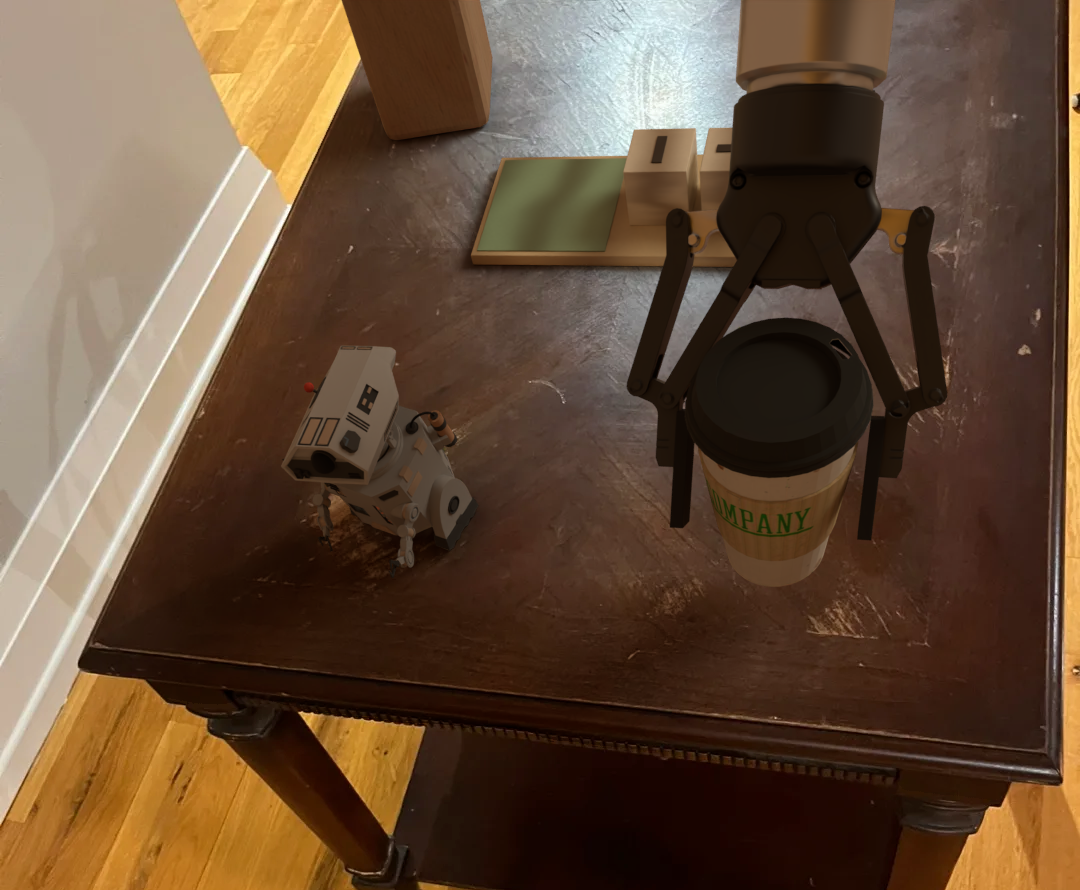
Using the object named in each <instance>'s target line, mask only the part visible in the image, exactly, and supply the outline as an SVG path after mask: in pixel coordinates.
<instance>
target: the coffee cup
mask: <svg viewBox="0 0 1080 890" xmlns="http://www.w3.org/2000/svg"><path fill="white" fill-rule="evenodd" d="M840 351H841V352H840ZM843 353H844V354H843ZM845 354H846V355H847V356H848V357H847V356H846V355H845ZM684 409H685V419H686V424H687V428H688V431H689V433H690V435H691V437H692V439H693V441H694V443H695V444H694V445H696V447H697V453H698V456H699V460H700V464H701V468H702V472H703V476H704V480H705V483H706V488H707V491H708V494H709V495H708V496H709V498H710V499H709V500H710V503H711V508H712V510H713V514H714V519H715V522H716V525H717V529H718V531H719V533H720V535H721V537H722V540H723V544H724V549H725V552H726V556H727V559H728V561H729V564H730V566H731V567H732V569H733V570H734V571H735V572H736V573H737V574H738V575H739V576H740V577H741V578H743V579H744V580H746V581H748V582H750V583H752V584H754V585H758V586H760V587H761V586H762V587H769V588H776V587H780V588H781V587H786V586H791V585H794V584H796V583H799V582H801V581H803V580H805V579H806V578H807V577H810V575H811V574H812V573H813V572H815V571H816V569H817V568H818V567H819V565H820V564H821V562H822V560H823V558H824V557H825V556H824V555H825V552H826V548H827V544H828V541H829V538H830V535H831V534H832V532H833V530H834V527H835V526H836V523H837V519H838V517H839V512H840V510H841V506H842V503H843V501H844V496H845V493H846V489H847V486H848V482H849V479H850V476H851V472H852V469H853V466H854V463H855V460H856V455H857V452H858V447H859V442H860V439H861V438H862V437H863V436H864V435H865V432H866V430H867V429H868V426H869V425H870V421H871V416H873V411H874V391H873V384H872V381H871V378H870V376H869V373H868V370H867V368H866V366H865V365H864V363H863V361H862V360H861V359H860V357H859V354H858V352H857V351H856V349H855V348H854V346H853V344H852V343H850V342H849V340H847V339H846V337H844V336H843V335H842V334H841V333H839V332H838V331H836V330H834V329H833V328H831V327H830V326H827V325H824V324H822V323H820V322H818V321H815V320H809V319H805V318H800V317H797V318H796V317H775V318H773V317H772V318H766V319H762V320H757V321H752V322H751V323H748V324H744V325H743V326H739V327H738V328H736V329H734V330H733V331H730V332H729V333H726V334H725V335H724V337H723V338H722V339H720V340H719V341H718V342H717V343H715V344H714V346H713V347H712V348H711V349H710V350H709V351H708V353H707V354H706V355H705V357H704V359H703V361H702V362H701V364H700V366H699V368H698V370H697V371H696V373H695V375H694V377H693V379H692V380H691V382H690V386H689V389H688V393H687V396H686V399H685V402H684Z"/></svg>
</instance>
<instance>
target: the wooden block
mask: <svg viewBox="0 0 1080 890" xmlns="http://www.w3.org/2000/svg"><path fill="white" fill-rule="evenodd" d="M341 3H342V6H343V9H344V12H345V15H346V18H347V22H348V25H349V27H350V31H351V33H352V36H353V39H354V43H355V46H356V49H357V51H358V55H359V57H360V61H361V64H362V68H363V70H364V72H365V73H364V74H365V76H366V78H367V82H368V85H369V88H370V90H371V94H372V97H373V100H374V103H375V106H376V109H377V113H378V115H379V118H380V121H381V124H382V127H383V130H384V132H385V134H386V136H387V137H388V138H389V139H390V140H393V141H400V140H401V141H402V140H407V139H413V138H418V137H426V136H432V135H437V134H445V133H451V132H457V131H463V130H469V129H470V130H471V129H476V128H481V127H483V126H485V125H487V124H488V122H489V119H490V114H491V97H492V96H491V94H492V78H493V53H492V48H491V45H490V39H489V35H488V31H487V26H486V22H485V16H484V11H483V8H482V3H481V0H341Z"/></svg>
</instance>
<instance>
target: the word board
mask: <svg viewBox="0 0 1080 890" xmlns="http://www.w3.org/2000/svg"><path fill="white" fill-rule="evenodd" d="M706 135H707V136H706V139H705V144H704V149H703V153H702V154H701V153H700V154H698V143H697V142H698V141H697V129H696V128H695V127H690V128H689V127H687V128H686V127H683V128H681V127H680V128H648V129H647V128H644V129H643V128H642V129H641V128H640V129H638V128H637V129H636V128H635V129H633V131H632V135H631V140H630V144H629V148H628V152H627V155H588V156H587V155H585V156H584V155H580V156H576V155H575V156H524V157H523V156H521V157H519V156H518V157H501V159H500V162H499V166H498V169H497V172H496V175H495V178H494V181H493V183H492V187H491V191H490V193H489V197H488V200H487V203H486V206H485V209H484V213H483V216H482V219H481V222H480V225H479V228H478V231H477V234H476V238H475V240H474V243H473V247H472V250H471V253H470V258H471V262H472V265H482V266H483V265H485V266H487V265H489V266H490V265H493V266H494V265H496V266H498V265H499V266H500V265H501V266H502V265H503V266H593V267H594V266H595V267H596V266H597V267H598V266H599V267H601V266H603V267H604V266H606V267H607V266H609V267H616V266H617V267H663V264H664V261H665V258H666V217H667V215H668V213H669V212H670V211H671V210H673V209H676V208H679V209H682V210H684V211H686V212H693V211H704V210H715V209H718V208H719V206H720V204H721V202H722V201H723V199H724V197H725V194H726V192H727V188H728V183H729V169H730V154H731V140H732V127H709V128H708V130H707V133H706ZM736 261H737V260H736V258H735V256H734V255H733V253H732V251H731V250H730V248H729V246H728V245H727V243H726V241H725V240H724V238H723V236H722V235H721V233H720V231H716V232H714V233H712V235H711V236H710V237H709V239H708V243H707V246H706V248H705V250H704V251H703V252H701V253H699V254H695V256H694V262H693V267H702V268H703V267H705V268H706V267H708V268H709V267H710V268H711V267H712V268H713V267H717V268H719V267H720V268H721V267H722V268H727V267H728V268H729V267H730V268H733V266H734V265H735V263H736Z"/></svg>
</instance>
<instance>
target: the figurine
mask: <svg viewBox="0 0 1080 890" xmlns="http://www.w3.org/2000/svg"><path fill="white" fill-rule="evenodd" d="M396 357H397V350H395V349H394V348H393V347H392V346H379V345H378V346H377V345H340V347H339V348H338V351H337V354H336V356H335V358H334V359H333V362H332V363H331V365H330V367H329V368H328V370H327V372H326V374H325V376H324V377H323V379H322V380H321V382H320V384H319V385H318V387H317V389H315V385H314V383H312V382H309V381H308V382H305V383H304V385H303V390H304V391H305V392H306V393H309V394H310V393H313V395H312V398H311V400H310V403H309V405H308V406H307V409H306V411H305V413H304V416H303V417H302V420H301V422H300V424H299V427H298V429H297V430H296V433H295V435H294V436H293V439H292V442H291V443H290V446H289V448H288V450H287V453H286V454H285V456H284V458H282V459H281V460H282V463H281V465H280V467H281V469H282V470H284V471H285V473H287V474H288V476H290V477H291V478H292V479H293V480H294V481H296V482H297V481H298V482H308V483H309V482H310V483H311V482H313V483H320V487H321V489H320V492H319V493H316V494H314V495H313V496H312V503H313V505H314V506H316V512H317V515H318V516H317V517H316V522H317V525H318V527H319V529H320V530H321V532H322V535H323V536H318V537H317V540H318V541H319V543H320V545H321V546H322V547H324V544H323V542H327V545H328V547H329V552H330V553H331V552H334V549H333V547H332V544H331V541H330V538H331V533H330V531H331V532H333V531H334V529H335V528H334V523H333V521H332V519H331V510H330V507H331V505H332V501H331V500H332V499H330V498H329V496H330V494H332V495H334V496H338V497H339V498H340V499H341V500H342V501H343V502H344V503H345V505H346V506H347V507H348V508H349V511H350V514H351V516H354V517H357V518H358V519H359V520H360V521H361V522H362V523H364V524H367V525H370V526H371V527H372V528H374V529H377V530H379V531H383V532H385V533H388V534H391V535H393V536H399V537H400V540H399V546H400V548H399V549H398V551H397V558H396V559H389V561H388V562H389V567H390V570H388V572H389V575H390V578H391V579H394V577H395V574H396V571H397V568H399V567H400V568H402V569H404V568H406V567H408V568H413V566H414V564H415V553H414V551H413V543H414V541H413V539H414V538H415V536H416V534H418V533H421V532H423V531H425V530H427V529H430V528H432V530H433V532H434V534H433V540H434V544H435V547H438V548H441V549H444V550H447V551H451V550H452V549H454V548H455V547H456V542H457V541H459V540H460V539H461V537H462V532H463V531H464V529H465V528H466V527H468V526H469V524H470V521H471V519H472V518H474V517H475V514H476V510H477V509H478V508H479V503H478V502H477V500H476V498H475V497H473V496H472V495H471V493H470V491H469V489H468V487H467V486H466V484H465V483H464V482H463V481H462V480H461V479H459V478H457V477H455V475H454V471H453V468H452V465H451V463H450V460H449V457H448V456H447V454H446V453H445V452H446V450H447V448H452V447H454V446H455V445H456V444H457V442H458V437H457V435H456V433H455V432H454V431H452V429H451V428H450V425H449V424H448V422H447V419H446V418H445V417H444V416H443V414H442V412H441V411H439V410H437V409H433V410H430V411H423V412H422V411H421V412H420V413H419V412H418V411H417V410H415V409H411V408H408V407H406V406H402V405H399V404H400V403H399V401H400V396H399V392H398V388H397V385H396V381H395V377H394V374H393V369H394V366H395V364H396ZM425 415H427V420H428V421H429V423H430V425H428V426H427V424H426V422H425V421H424V420H423V418H422V416H425Z"/></svg>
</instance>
